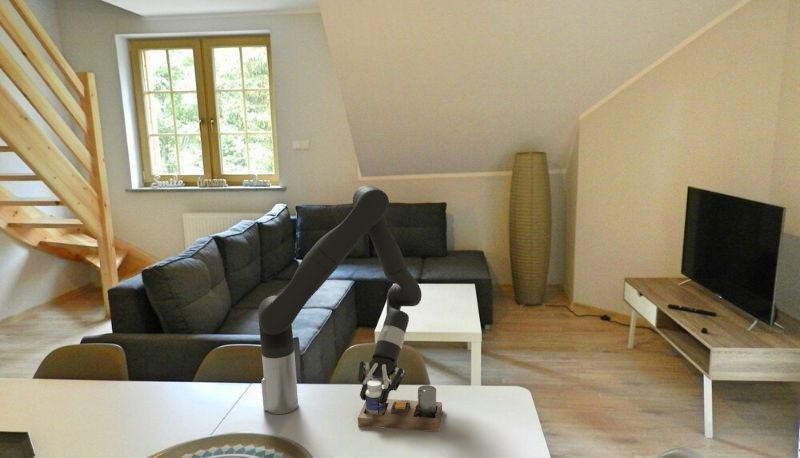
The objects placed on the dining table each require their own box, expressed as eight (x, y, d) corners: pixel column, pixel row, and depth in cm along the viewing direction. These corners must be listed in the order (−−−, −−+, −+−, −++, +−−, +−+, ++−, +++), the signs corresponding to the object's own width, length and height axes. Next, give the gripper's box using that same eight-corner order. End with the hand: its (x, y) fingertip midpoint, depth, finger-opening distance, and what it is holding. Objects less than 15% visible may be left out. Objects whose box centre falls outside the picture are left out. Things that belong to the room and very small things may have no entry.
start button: (394, 410, 149) (394, 406, 148) (396, 405, 151) (396, 401, 151) (404, 411, 148) (404, 407, 148) (406, 406, 151) (406, 402, 151)
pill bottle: (382, 417, 148) (381, 387, 147) (364, 416, 150) (362, 386, 148) (386, 407, 154) (385, 378, 152) (369, 406, 155) (367, 377, 153)
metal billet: (419, 425, 146) (419, 394, 144) (416, 415, 151) (416, 385, 149) (437, 423, 147) (438, 393, 145) (433, 413, 152) (434, 384, 150)
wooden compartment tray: (358, 426, 147) (357, 413, 146) (367, 405, 158) (366, 394, 157) (438, 431, 143) (437, 418, 142) (442, 410, 154) (441, 398, 153)
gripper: (363, 336, 158) (344, 392, 149) (407, 342, 152) (390, 402, 143) (372, 346, 163) (354, 400, 155) (415, 353, 157) (399, 410, 149)
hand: (372, 401), depth 149 cm, fingers closed on pill bottle, 5 cm apart
